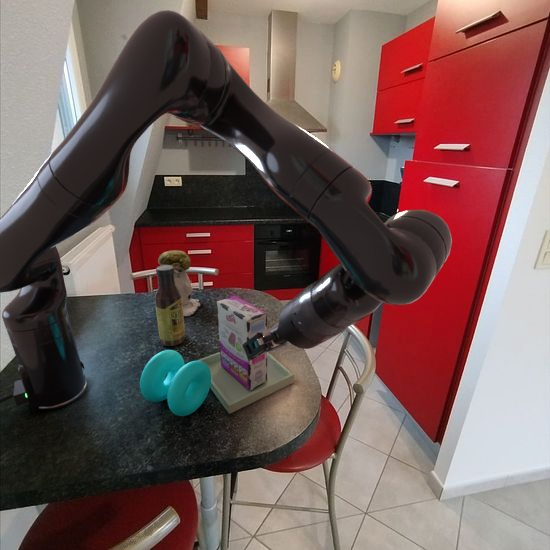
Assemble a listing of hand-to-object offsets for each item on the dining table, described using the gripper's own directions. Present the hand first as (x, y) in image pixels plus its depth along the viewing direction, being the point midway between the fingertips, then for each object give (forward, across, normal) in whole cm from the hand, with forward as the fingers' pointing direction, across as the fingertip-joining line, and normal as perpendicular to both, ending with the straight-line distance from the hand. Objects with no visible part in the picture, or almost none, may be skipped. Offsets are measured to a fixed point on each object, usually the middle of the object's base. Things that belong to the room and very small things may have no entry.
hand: (270, 345), depth 57 cm
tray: (+17, 0, +2) cm, 17 cm away
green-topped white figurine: (+44, +1, -25) cm, 50 cm away
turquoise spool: (+17, +14, +2) cm, 22 cm away
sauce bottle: (+32, +8, -14) cm, 36 cm away
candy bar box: (+16, 0, +2) cm, 17 cm away
